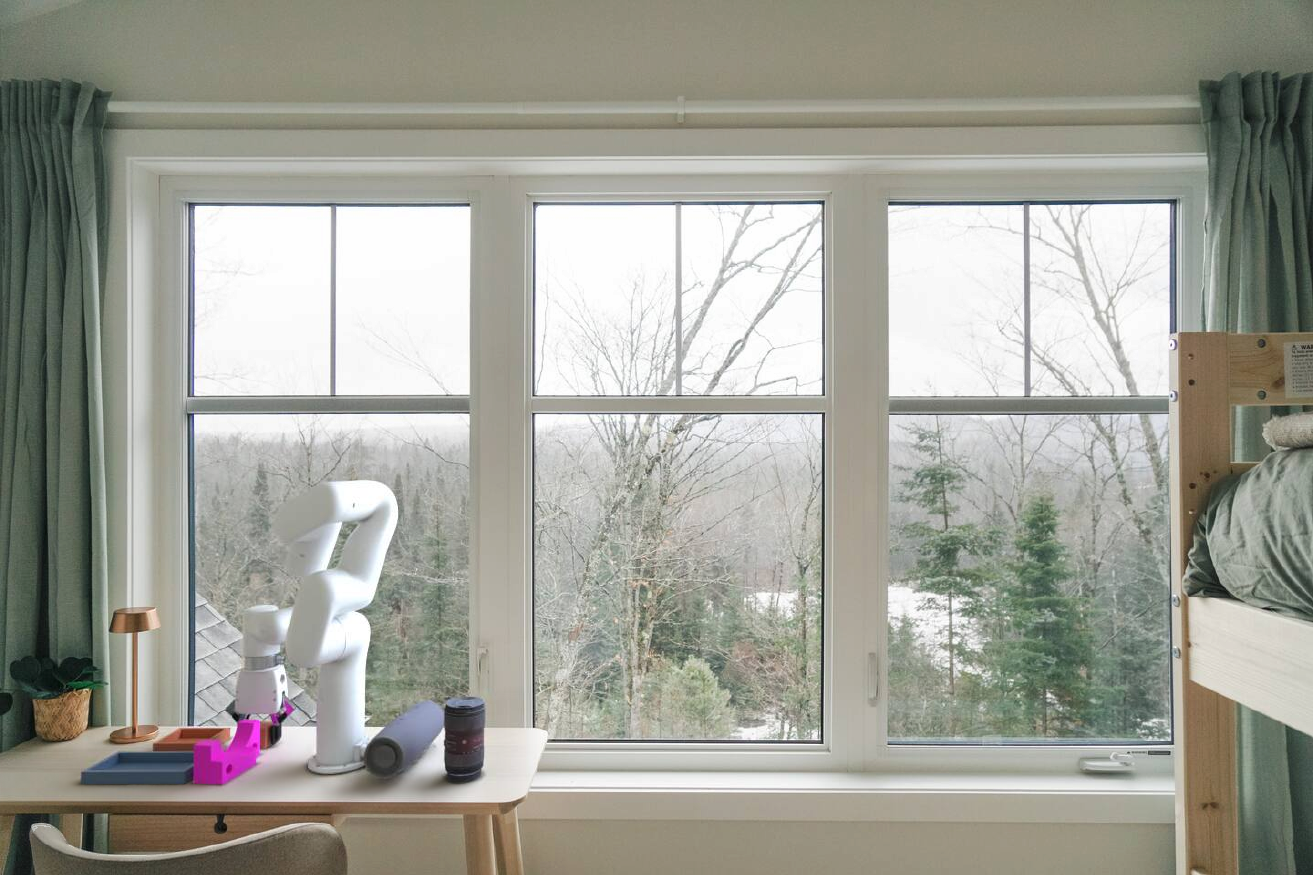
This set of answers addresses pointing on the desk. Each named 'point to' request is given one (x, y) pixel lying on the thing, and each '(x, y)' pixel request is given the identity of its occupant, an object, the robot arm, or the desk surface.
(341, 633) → the robot arm
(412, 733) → the bluetooth speaker
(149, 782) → the blue tray
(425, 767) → the desk surface
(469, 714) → the camera lens
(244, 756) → the toy block
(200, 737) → the terracotta tray
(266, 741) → the terracotta cube
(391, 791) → the desk surface
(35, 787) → the desk surface
